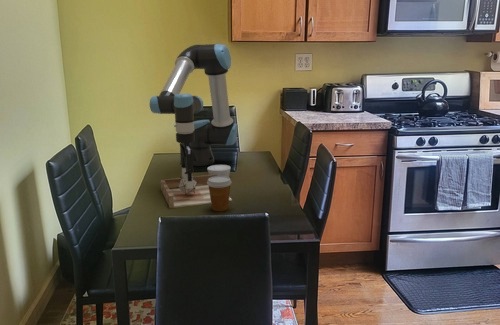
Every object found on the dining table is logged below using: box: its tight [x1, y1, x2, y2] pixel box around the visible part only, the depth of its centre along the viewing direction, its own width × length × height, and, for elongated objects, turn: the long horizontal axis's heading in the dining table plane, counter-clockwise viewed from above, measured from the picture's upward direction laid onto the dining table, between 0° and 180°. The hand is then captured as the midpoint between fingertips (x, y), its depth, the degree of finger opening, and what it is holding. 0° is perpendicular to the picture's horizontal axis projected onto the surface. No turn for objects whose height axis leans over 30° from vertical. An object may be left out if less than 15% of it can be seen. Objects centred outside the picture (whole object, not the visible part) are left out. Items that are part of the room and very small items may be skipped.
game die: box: [177, 176, 199, 196], centre depth 191 cm, size 9×8×10 cm
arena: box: [160, 174, 233, 209], centre depth 193 cm, size 24×26×5 cm
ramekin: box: [206, 164, 232, 178], centre depth 219 cm, size 11×11×5 cm
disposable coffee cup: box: [207, 176, 233, 212], centre depth 177 cm, size 10×10×12 cm
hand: (187, 185), depth 191 cm, fingers closed on game die, 8 cm apart
